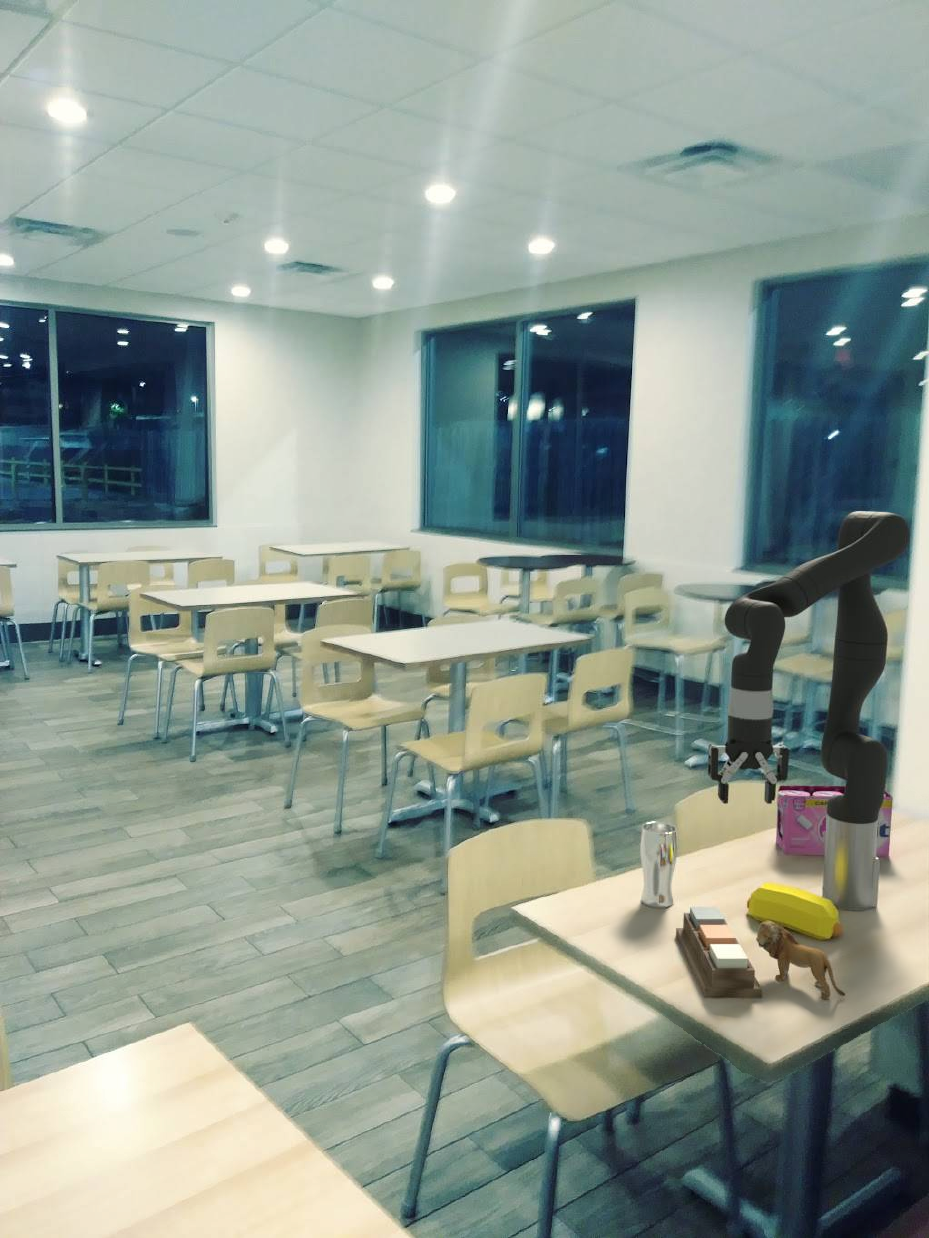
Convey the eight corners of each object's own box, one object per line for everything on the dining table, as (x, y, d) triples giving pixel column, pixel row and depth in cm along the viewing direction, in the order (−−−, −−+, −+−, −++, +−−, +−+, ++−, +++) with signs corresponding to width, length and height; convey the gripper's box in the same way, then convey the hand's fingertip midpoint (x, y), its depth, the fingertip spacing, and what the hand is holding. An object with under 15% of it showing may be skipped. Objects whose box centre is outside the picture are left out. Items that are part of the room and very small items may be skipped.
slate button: (716, 921, 173) (717, 906, 172) (723, 934, 168) (724, 918, 167) (689, 921, 173) (690, 906, 172) (696, 934, 168) (696, 918, 167)
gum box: (779, 855, 212) (781, 795, 210) (769, 842, 219) (771, 784, 217) (890, 856, 211) (894, 796, 209) (876, 843, 219) (879, 785, 217)
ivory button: (738, 960, 159) (739, 944, 158) (747, 975, 154) (747, 958, 154) (709, 960, 159) (710, 944, 158) (717, 975, 154) (717, 958, 154)
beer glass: (673, 894, 192) (675, 821, 189) (677, 909, 185) (679, 834, 183) (637, 893, 192) (639, 820, 190) (640, 908, 185) (642, 833, 183)
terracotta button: (727, 940, 166) (727, 924, 165) (734, 953, 161) (735, 937, 160) (699, 940, 166) (699, 924, 165) (706, 953, 161) (706, 937, 160)
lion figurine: (749, 975, 160) (751, 923, 159) (762, 962, 164) (764, 912, 163) (839, 1005, 151) (842, 951, 150) (851, 991, 155) (854, 938, 154)
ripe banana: (755, 904, 187) (737, 918, 182) (756, 871, 186) (738, 884, 181) (849, 933, 176) (833, 948, 170) (851, 898, 175) (835, 912, 169)
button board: (726, 935, 174) (726, 912, 173) (761, 997, 153) (762, 970, 153) (676, 935, 174) (676, 912, 173) (704, 997, 153) (705, 970, 153)
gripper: (784, 707, 175) (779, 796, 177) (704, 707, 175) (701, 795, 177) (798, 717, 167) (793, 809, 170) (715, 717, 167) (711, 809, 170)
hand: (746, 802), depth 173 cm, fingers open, 7 cm apart
